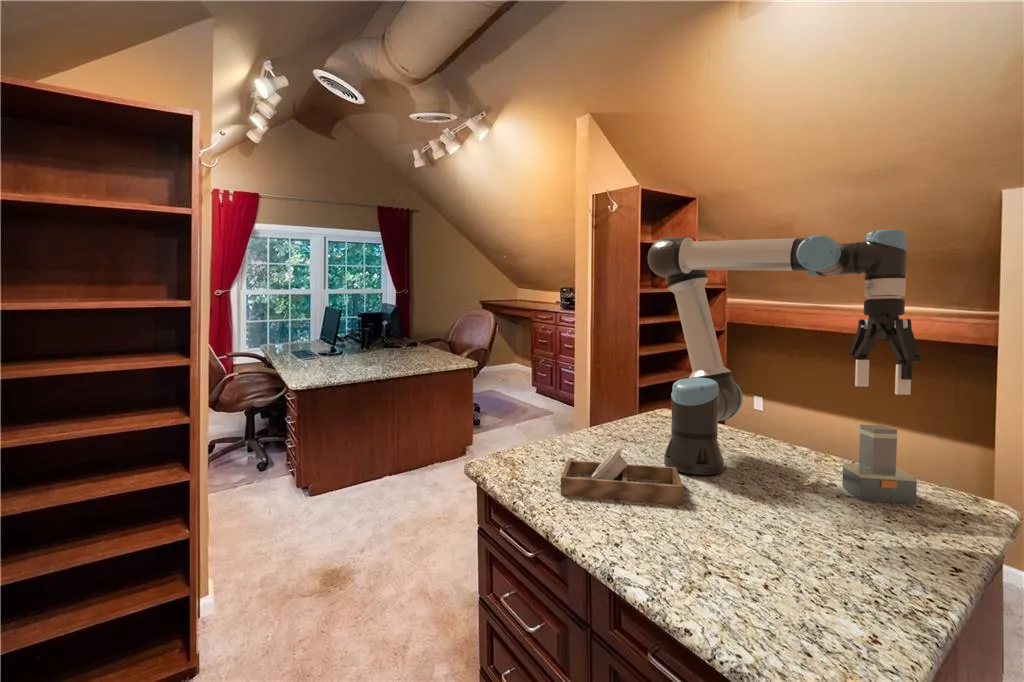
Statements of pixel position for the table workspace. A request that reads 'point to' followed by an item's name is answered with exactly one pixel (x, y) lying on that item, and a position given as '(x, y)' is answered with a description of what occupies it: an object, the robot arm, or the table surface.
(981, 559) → the table surface
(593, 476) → the beige piece
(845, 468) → the grey-green storage box
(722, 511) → the table surface
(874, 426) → the column
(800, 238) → the robot arm
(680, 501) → the parts corral
